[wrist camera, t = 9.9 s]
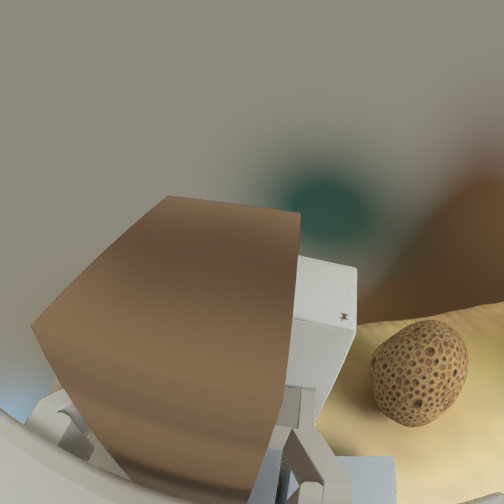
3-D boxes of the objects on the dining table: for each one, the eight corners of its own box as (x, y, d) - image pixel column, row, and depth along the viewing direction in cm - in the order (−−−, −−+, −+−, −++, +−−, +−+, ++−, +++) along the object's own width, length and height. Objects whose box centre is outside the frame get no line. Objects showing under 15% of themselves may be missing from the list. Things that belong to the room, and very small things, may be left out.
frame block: (237, 526, 10) (283, 400, 3) (156, 505, 10) (28, 325, 4) (257, 432, 15) (300, 213, 9) (188, 417, 16) (166, 195, 9)
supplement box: (323, 372, 28) (361, 266, 22) (309, 434, 22) (359, 333, 16) (253, 354, 30) (267, 244, 24) (226, 411, 24) (232, 301, 17)
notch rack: (371, 547, 12) (415, 534, 9) (151, 520, 14) (127, 504, 11) (372, 473, 18) (410, 441, 15) (176, 448, 20) (165, 410, 17)
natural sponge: (429, 453, 19) (495, 389, 14) (343, 433, 22) (389, 363, 17) (434, 383, 26) (479, 314, 21) (363, 363, 29) (396, 288, 24)
